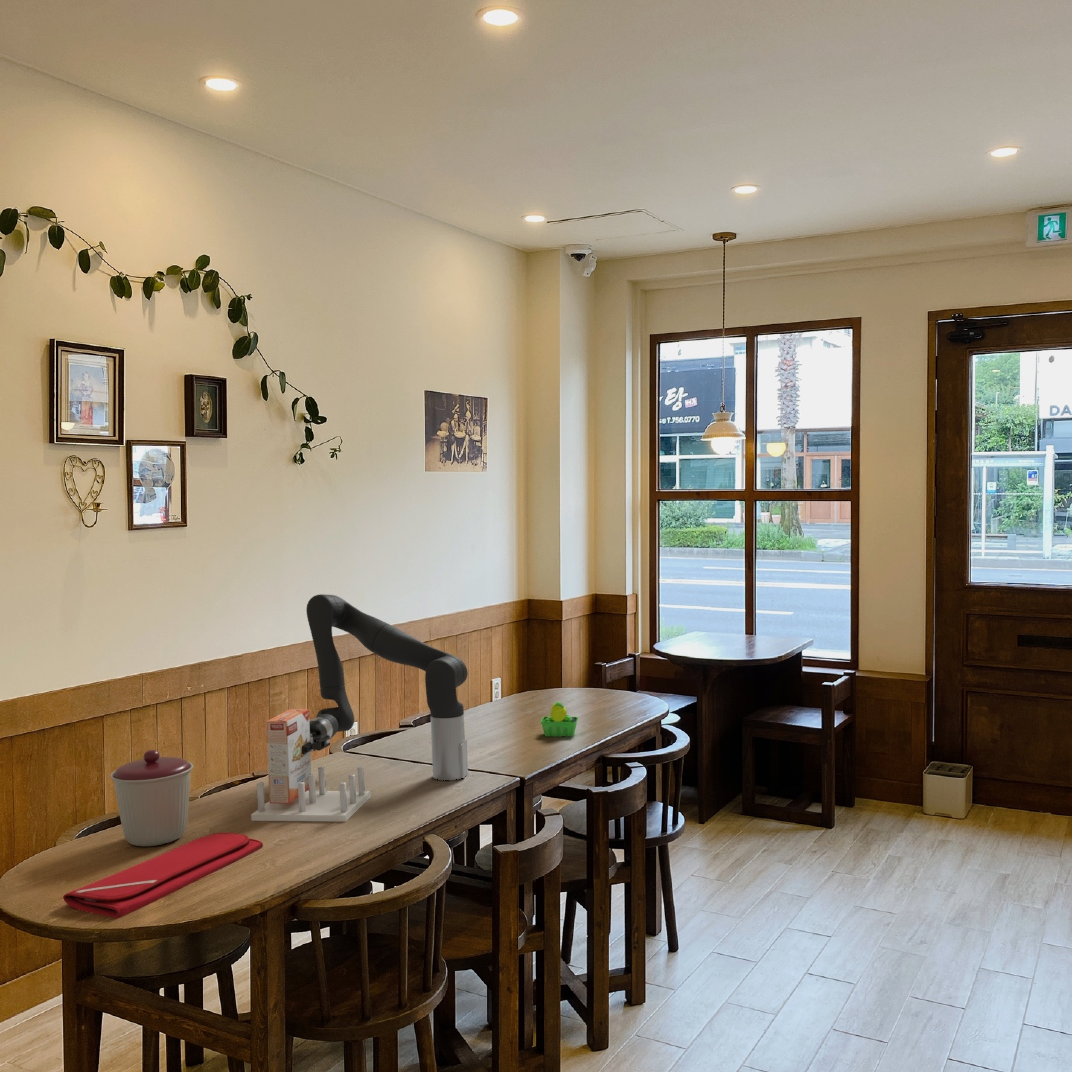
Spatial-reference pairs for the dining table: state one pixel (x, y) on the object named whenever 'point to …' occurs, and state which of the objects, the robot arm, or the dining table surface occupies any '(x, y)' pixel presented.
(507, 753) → the dining table surface
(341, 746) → the dining table surface
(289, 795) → the cracker box
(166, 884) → the dish drying mat
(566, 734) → the fruit basket
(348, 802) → the dish rack
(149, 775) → the canister
